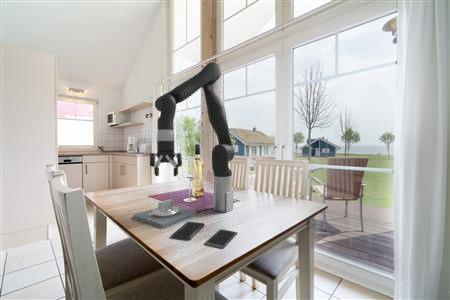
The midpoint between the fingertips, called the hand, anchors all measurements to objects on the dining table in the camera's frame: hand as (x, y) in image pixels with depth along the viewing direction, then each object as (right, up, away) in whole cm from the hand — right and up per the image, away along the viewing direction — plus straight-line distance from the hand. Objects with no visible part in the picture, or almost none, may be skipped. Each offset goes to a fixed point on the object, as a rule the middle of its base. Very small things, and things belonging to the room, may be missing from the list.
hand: (166, 176), depth 99 cm
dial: (-1, -17, 0) cm, 17 cm away
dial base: (-1, -19, +1) cm, 19 cm away
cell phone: (+25, -20, -21) cm, 39 cm away
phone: (+13, -20, -15) cm, 28 cm away
